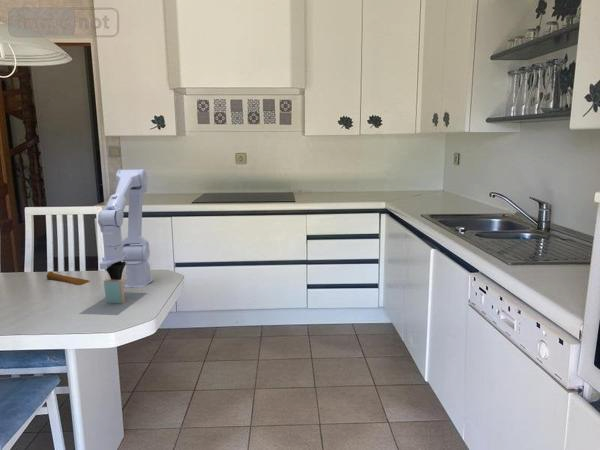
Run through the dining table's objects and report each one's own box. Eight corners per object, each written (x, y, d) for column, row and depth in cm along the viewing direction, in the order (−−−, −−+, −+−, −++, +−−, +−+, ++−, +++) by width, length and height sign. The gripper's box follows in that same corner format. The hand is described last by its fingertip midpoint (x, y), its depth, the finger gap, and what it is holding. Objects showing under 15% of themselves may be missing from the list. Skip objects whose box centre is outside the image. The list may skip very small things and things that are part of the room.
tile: (108, 301, 154) (105, 279, 152) (124, 302, 153) (122, 279, 152) (105, 303, 153) (103, 280, 151) (122, 303, 152) (120, 281, 150)
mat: (114, 293, 164) (113, 292, 164) (147, 294, 162) (147, 292, 162) (79, 314, 144) (79, 313, 144) (117, 316, 142) (117, 314, 142)
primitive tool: (90, 282, 179) (90, 273, 178) (80, 286, 174) (79, 277, 173) (53, 278, 185) (52, 270, 184) (42, 282, 180) (40, 274, 179)
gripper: (113, 240, 159) (116, 277, 161) (89, 250, 145) (93, 290, 147) (132, 240, 158) (135, 277, 160) (110, 250, 144) (113, 291, 146)
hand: (116, 284), depth 154 cm, fingers closed
